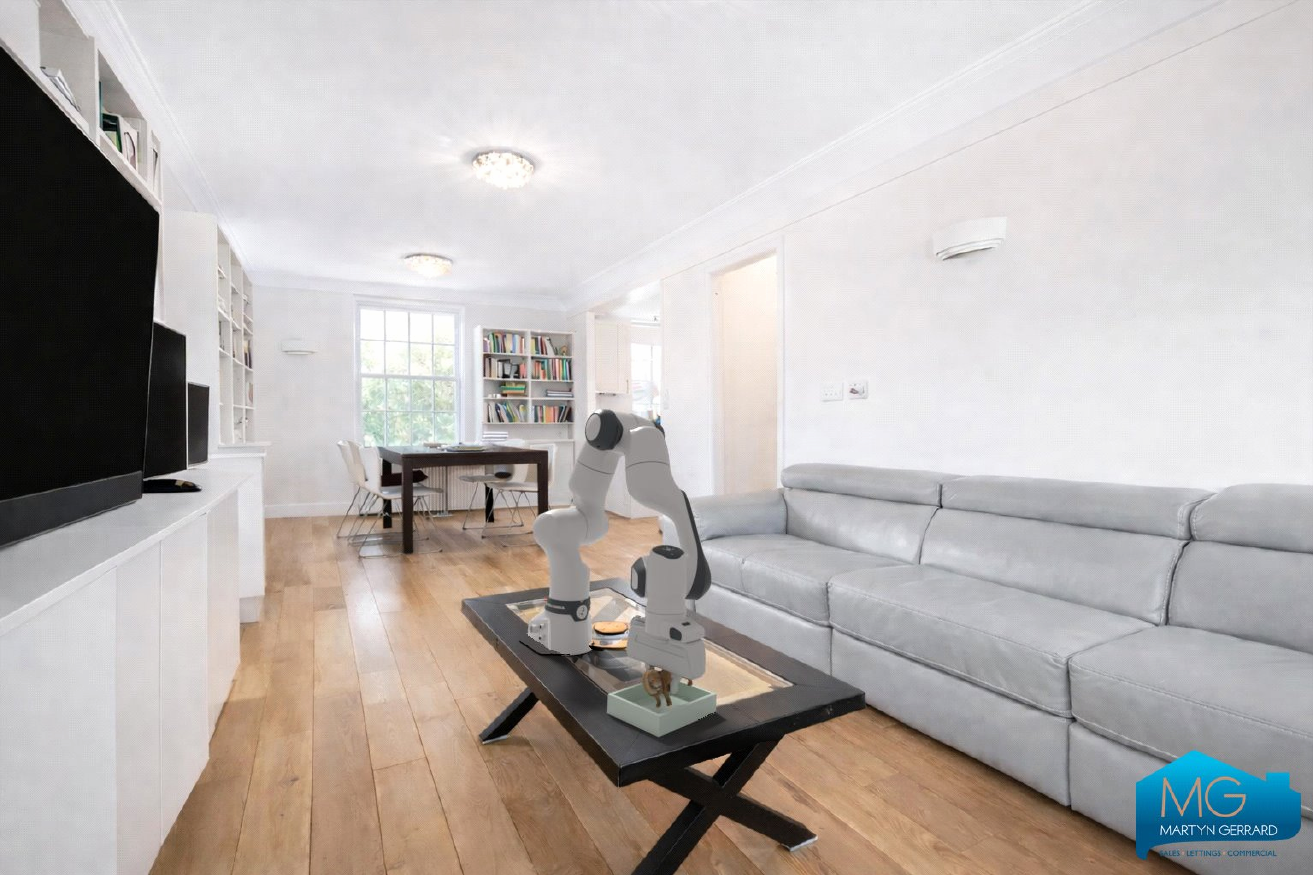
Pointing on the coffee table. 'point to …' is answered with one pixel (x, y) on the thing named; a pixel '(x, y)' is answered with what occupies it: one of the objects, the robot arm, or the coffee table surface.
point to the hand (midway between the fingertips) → (662, 688)
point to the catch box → (661, 707)
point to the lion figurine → (658, 684)
